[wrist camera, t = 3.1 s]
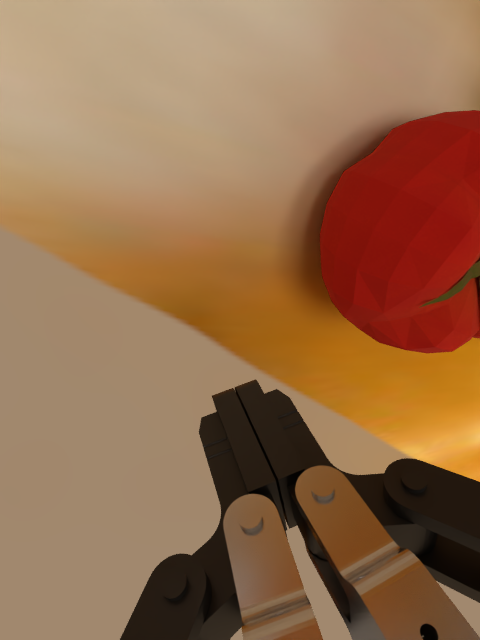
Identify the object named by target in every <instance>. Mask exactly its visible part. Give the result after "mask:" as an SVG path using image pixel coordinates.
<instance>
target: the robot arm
mask: <svg viewBox="0 0 480 640" xmlns="http://www.w3.org/2000/svg"><path fill="white" fill-rule="evenodd" d="M212 398H213V401H214V404H215V407H216V410H217V412H216V413H213V414H210V415H207V416H205V417H202V419H201V424H200V429H199V434H200V438H201V441H202V444H203V447H204V451H205V454H206V458H207V461H208V464H209V468H210V471H211V475H212V478H213V481H214V484H215V488H216V491H217V495H218V498H219V501H220V505H221V519H220V523H219V525H218V528H217V530H216V531H215V533H214V535H213V536H212V537H211V539H209V540H208V541H207V542H206V543H205V544H204V545H203V546H202V547H201V548H200V549H198V550H197V551H196V552H195V553H194V554H193V555H188V554H176V555H172V556H170V557H168V558H166V559H165V560H163V561H162V562H161V563H160V564H159V565H158V566H157V567H156V568H155V569H154V571H153V572H152V574H151V576H150V578H149V580H148V582H147V584H146V586H145V588H144V590H143V592H142V594H141V597H140V599H139V601H138V603H137V605H136V607H135V609H134V611H133V613H132V615H131V618H130V620H129V622H128V624H127V626H126V628H125V630H124V633H123V634H122V636H121V638H120V640H230V638H231V637H232V636H233V635H234V634H235V633H236V632H237V631H238V630H239V629H240V628H241V627H242V634H243V640H323V638H322V635H321V632H320V629H319V626H318V623H317V621H316V618H315V615H314V612H313V609H312V607H311V604H310V602H309V600H308V598H307V595H306V592H305V590H304V587H303V584H302V581H301V578H300V575H299V572H298V569H297V566H296V563H295V560H294V558H293V555H292V551H291V549H290V546H289V543H288V539H287V535H286V530H287V527H286V522H287V524H288V526H289V528H292V527H294V526H296V525H298V528H299V530H300V532H301V534H302V536H303V538H304V541H305V546H306V550H307V553H308V555H309V557H310V559H311V561H312V562H313V564H314V566H315V568H316V570H317V572H318V574H319V575H320V577H321V579H322V581H323V582H324V585H325V587H326V588H327V590H328V592H329V594H330V596H331V598H332V599H333V601H334V603H335V605H336V607H337V609H338V611H339V613H340V614H341V616H342V618H343V620H344V622H345V624H346V626H347V628H348V630H349V632H350V635H351V637H352V640H480V637H479V636H478V635H477V633H476V632H475V631H474V630H473V628H472V627H471V626H470V624H469V623H468V622H467V621H466V619H465V618H464V617H463V615H462V614H461V613H460V611H459V610H458V609H457V608H456V606H455V605H454V604H453V602H452V601H451V600H450V599H449V597H448V596H447V595H446V593H445V592H444V591H443V590H442V588H441V587H440V586H439V584H438V583H437V582H436V581H438V582H440V583H442V584H444V585H446V586H448V587H450V588H452V589H454V590H456V591H458V592H460V593H461V594H464V595H465V596H467V597H469V598H471V599H473V600H476V601H477V602H479V603H480V482H478V481H475V480H473V479H470V478H467V477H464V476H462V475H459V474H456V473H453V472H451V471H448V470H445V469H442V468H440V467H437V466H434V465H431V464H428V463H426V462H423V461H420V460H417V459H407V458H406V459H400V460H397V461H395V462H393V463H391V464H390V465H389V466H388V467H387V469H386V471H385V473H384V474H370V475H353V474H349V473H345V472H343V471H341V470H339V469H337V468H336V467H335V466H333V465H332V464H331V463H330V461H329V460H328V459H327V458H326V456H325V454H324V452H323V451H322V449H321V448H320V446H319V444H318V443H317V441H316V440H315V438H314V436H313V435H312V433H311V432H310V430H309V428H308V427H307V425H306V423H305V422H304V421H303V419H302V417H301V415H300V414H299V412H298V411H297V409H296V407H295V406H294V404H293V403H292V401H291V399H290V398H289V397H288V396H286V395H285V394H283V393H282V392H280V391H279V390H277V389H276V390H273V391H271V392H268V393H265V394H264V393H263V391H262V389H261V387H260V385H259V383H258V382H257V380H253V381H250V382H248V383H245V384H242V385H240V386H237V387H235V390H234V389H233V388H232V389H229V390H226V391H224V392H221V393H218V394H215V395H213V396H212ZM284 517H285V518H284ZM285 520H286V522H285Z"/></svg>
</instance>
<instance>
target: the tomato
mask: <svg viewBox="0 0 480 640" xmlns="http://www.w3.org/2000/svg"><path fill="white" fill-rule="evenodd" d="M320 252H321V269H322V278H323V280H324V283H325V285H326V288H327V290H328V293H329V296H330V298H331V301H332V302H333V303H334V305H335V306H336V307H337V309H338V310H339V311H340V313H341V314H342V315H343V316H344V317H345V318H346V319H347V320H349V321H350V322H351V323H352V324H354V325H355V326H356V327H357V328H359V329H360V330H361V331H363V332H364V333H366V334H367V335H369V336H370V337H372V338H373V339H375V340H376V341H378V342H379V343H382V344H386V345H390V346H393V347H397V348H400V349H404V350H409V351H416V352H422V353H437V352H452V351H454V350H455V349H457V348H458V347H460V346H462V345H463V344H465V343H466V342H468V341H469V340H470V339H471V338H472V337H474V338H480V111H476V110H472V111H457V112H444V113H440V114H436V115H432V116H429V117H425V118H421V119H417V120H413V121H410V122H407V123H405V124H403V125H400V126H398V127H396V128H394V129H392V130H391V132H390V133H389V134H388V135H387V136H386V137H385V139H384V140H383V141H382V142H381V143H380V144H379V146H378V147H377V148H376V149H375V150H374V151H373V152H372V153H371V154H370V155H368V156H367V157H365V158H364V159H362V160H360V161H359V162H357V163H356V164H354V165H353V166H351V167H350V168H348V169H347V170H345V171H344V172H343V174H342V176H341V178H340V179H339V181H338V183H337V185H336V187H335V189H334V191H333V192H332V194H331V196H330V198H329V200H328V202H327V205H326V209H325V214H324V218H323V223H322V227H321V232H320Z"/></svg>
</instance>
